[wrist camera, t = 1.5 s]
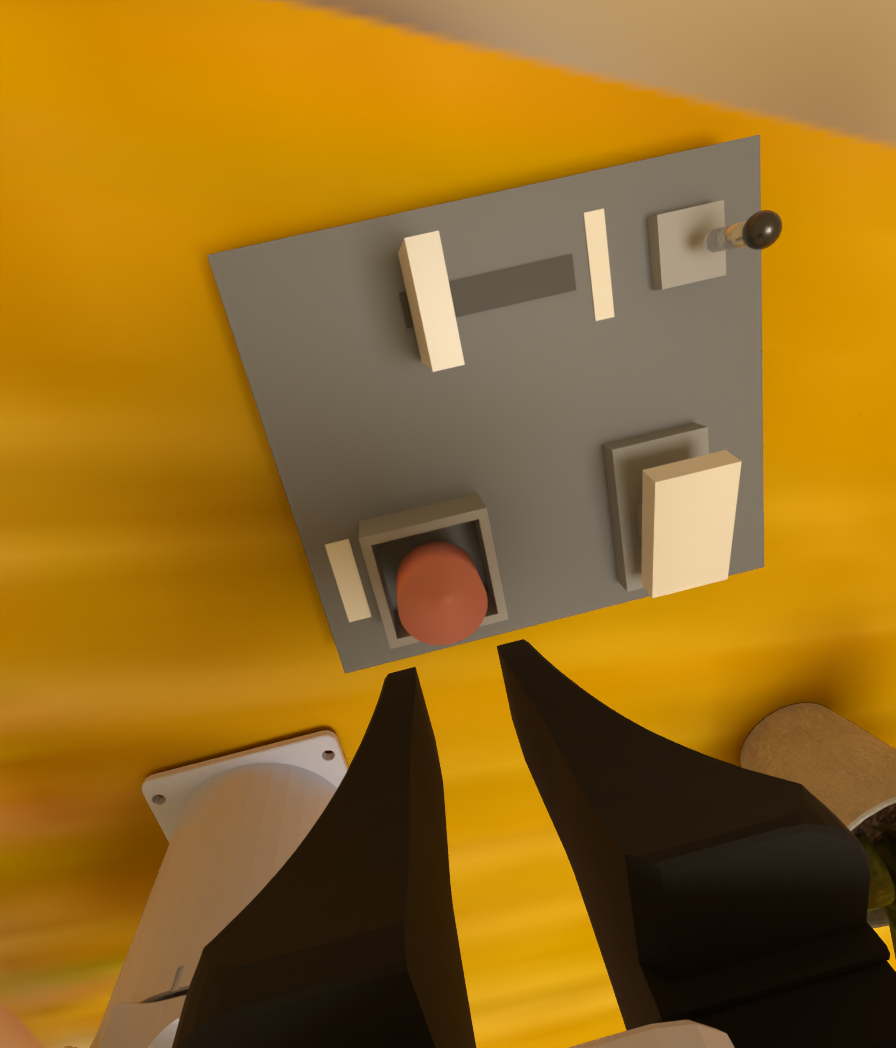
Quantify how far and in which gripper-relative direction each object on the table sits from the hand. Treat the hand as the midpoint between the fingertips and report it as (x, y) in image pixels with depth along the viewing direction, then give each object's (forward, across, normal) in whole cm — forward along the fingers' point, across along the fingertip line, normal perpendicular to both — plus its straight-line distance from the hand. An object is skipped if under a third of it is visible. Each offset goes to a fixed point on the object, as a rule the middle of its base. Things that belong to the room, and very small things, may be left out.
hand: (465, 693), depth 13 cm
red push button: (+6, 0, 0) cm, 6 cm away
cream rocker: (+5, -8, 0) cm, 10 cm away
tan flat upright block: (+7, -2, -8) cm, 11 cm away
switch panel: (+9, -4, -4) cm, 11 cm away
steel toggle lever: (+6, -10, -8) cm, 14 cm away
